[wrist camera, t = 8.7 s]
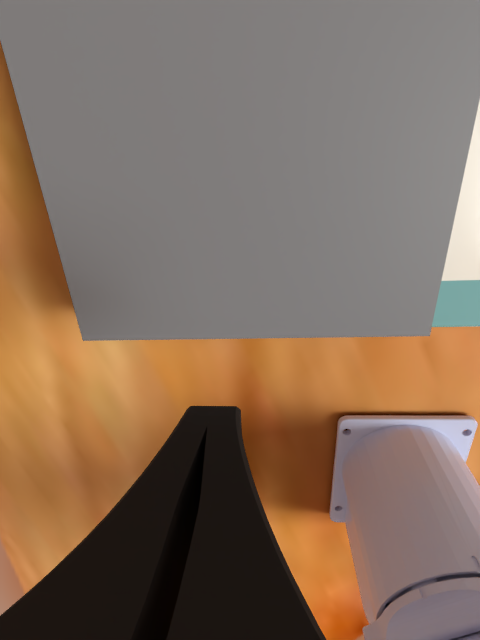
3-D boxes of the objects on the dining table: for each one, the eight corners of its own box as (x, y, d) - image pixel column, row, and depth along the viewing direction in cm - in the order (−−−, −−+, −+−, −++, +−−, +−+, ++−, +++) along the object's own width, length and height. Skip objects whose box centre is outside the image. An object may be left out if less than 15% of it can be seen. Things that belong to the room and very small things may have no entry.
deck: (406, 307, 19) (429, 336, 16) (106, 313, 20) (82, 340, 18) (469, -58, 13) (522, -107, 10) (29, -20, 14) (-27, -56, 11)
